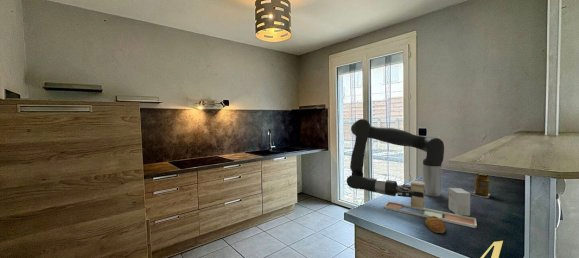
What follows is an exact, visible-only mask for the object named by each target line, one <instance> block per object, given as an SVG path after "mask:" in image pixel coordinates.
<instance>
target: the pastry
mask: <svg viewBox="0 0 579 258" xmlns="http://www.w3.org/2000/svg"><path fill="white" fill-rule="evenodd" d="M424 221H425V222H424V223H425V226H426V227H427V228H428V229H429V230H430V231H431V232H432V233H437V234H444V233H445V232H446V228H447V226H446V223H445V221H442V220H441V219H439V218H438V217H436V216H431V217H428V218H427V217H426V218H425V220H424Z"/></svg>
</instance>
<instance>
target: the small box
mask: <svg viewBox="0 0 579 258" xmlns="http://www.w3.org/2000/svg"><path fill="white" fill-rule="evenodd" d="M448 210H450V211H451V213H453V214H457V215H462V216H467V217H471V193H470V192H469V191H467V190H465V189H463V188H460V187H459V188H457V187H448Z"/></svg>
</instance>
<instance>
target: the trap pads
mask: <svg viewBox="0 0 579 258" xmlns="http://www.w3.org/2000/svg"><path fill="white" fill-rule="evenodd" d="M387 207H392V208H397V209H401V210H402V207H403V206H400V205H395V204H390V203H389V204H388V205H387ZM444 219H449V220H453V221H458V222H463V223H468V224H472V225H475V224H474V220H469V219H464V218H460V217H455V216H450V215H444Z"/></svg>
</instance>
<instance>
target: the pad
mask: <svg viewBox="0 0 579 258" xmlns="http://www.w3.org/2000/svg"><path fill="white" fill-rule="evenodd" d="M423 214H425V215H430V216H436V217H439V218H443V214H440V213H435V212H430V211H424V212H423Z"/></svg>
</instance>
